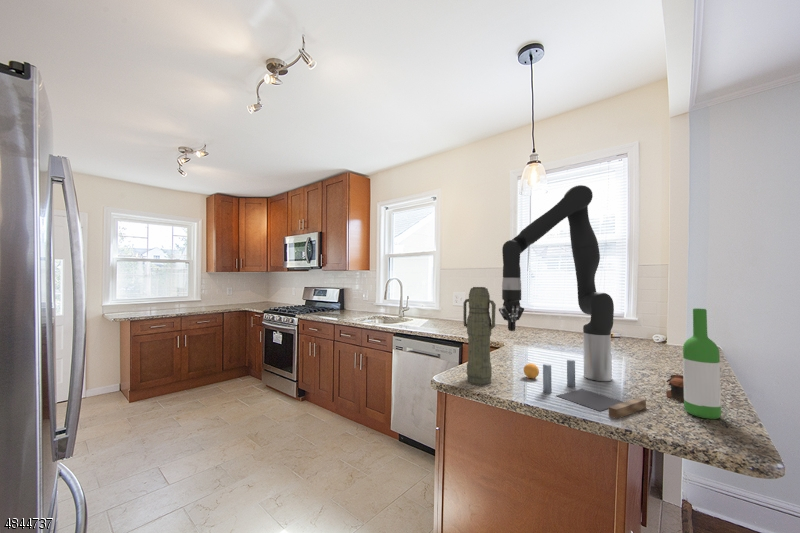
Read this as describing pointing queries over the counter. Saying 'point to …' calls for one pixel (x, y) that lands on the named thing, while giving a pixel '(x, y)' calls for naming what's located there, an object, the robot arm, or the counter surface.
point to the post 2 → (571, 373)
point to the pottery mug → (676, 387)
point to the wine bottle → (701, 371)
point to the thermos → (479, 335)
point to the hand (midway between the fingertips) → (511, 330)
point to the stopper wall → (627, 407)
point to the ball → (531, 370)
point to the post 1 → (547, 378)
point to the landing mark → (590, 399)
